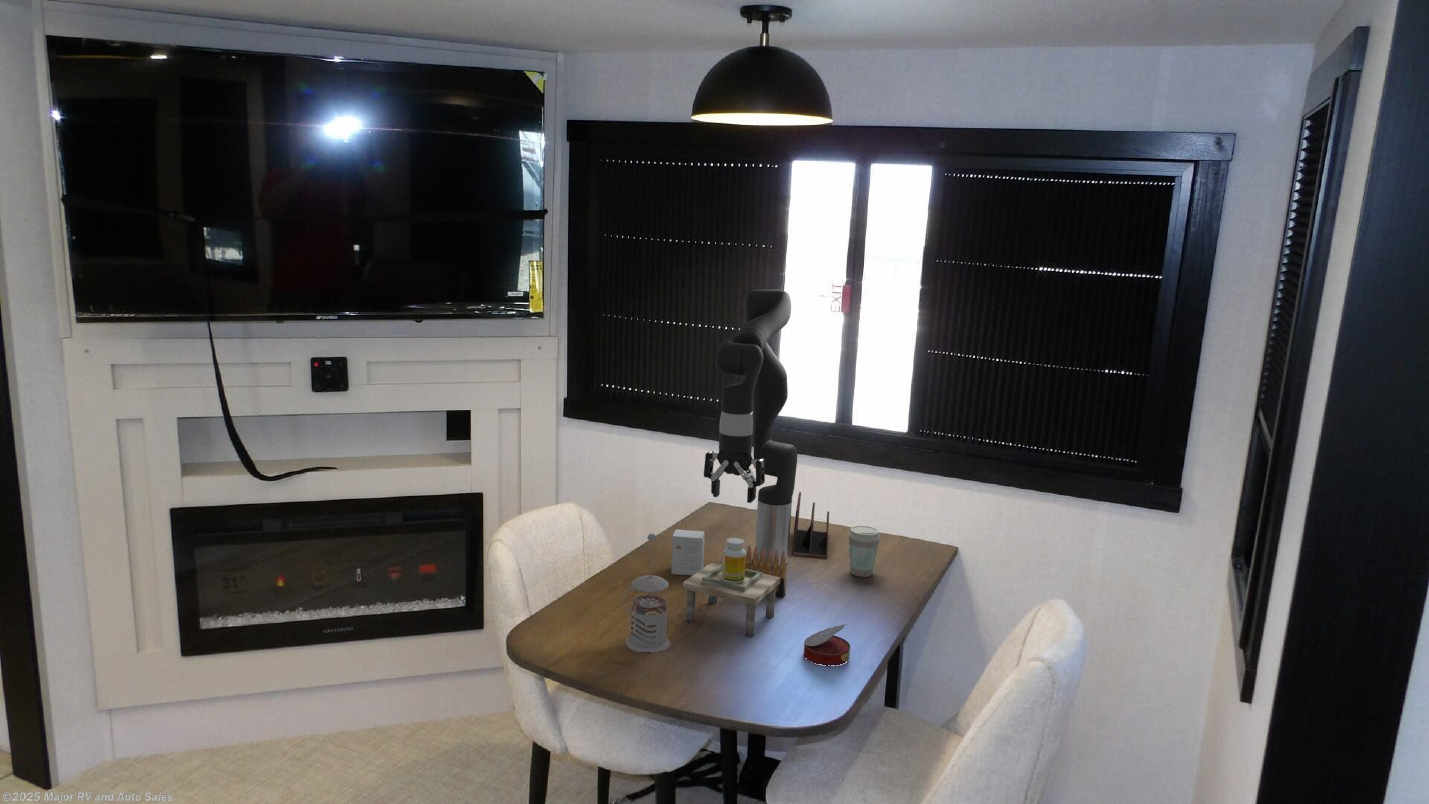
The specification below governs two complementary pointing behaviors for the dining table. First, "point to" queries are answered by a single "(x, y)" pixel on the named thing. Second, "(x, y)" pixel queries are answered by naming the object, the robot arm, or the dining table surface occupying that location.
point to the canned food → (827, 647)
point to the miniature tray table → (732, 592)
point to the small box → (687, 552)
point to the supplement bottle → (734, 561)
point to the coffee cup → (863, 549)
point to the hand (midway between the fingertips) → (732, 499)
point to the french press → (651, 635)
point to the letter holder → (809, 538)
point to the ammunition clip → (769, 567)
